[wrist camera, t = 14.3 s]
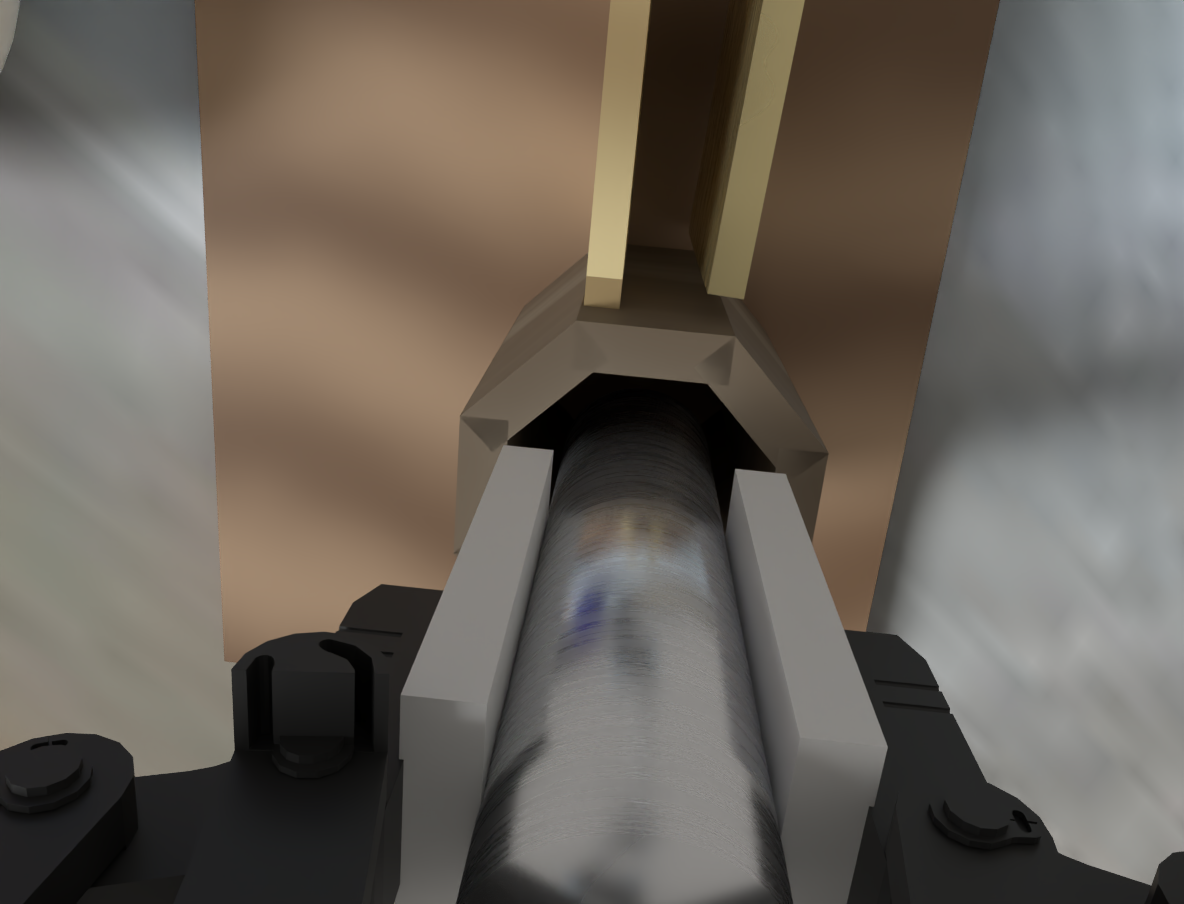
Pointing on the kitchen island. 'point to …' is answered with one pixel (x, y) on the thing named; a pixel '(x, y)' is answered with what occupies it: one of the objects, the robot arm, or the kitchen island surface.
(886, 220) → the jig
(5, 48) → the lidded jar
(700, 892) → the pin
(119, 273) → the kitchen island surface
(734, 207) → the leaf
